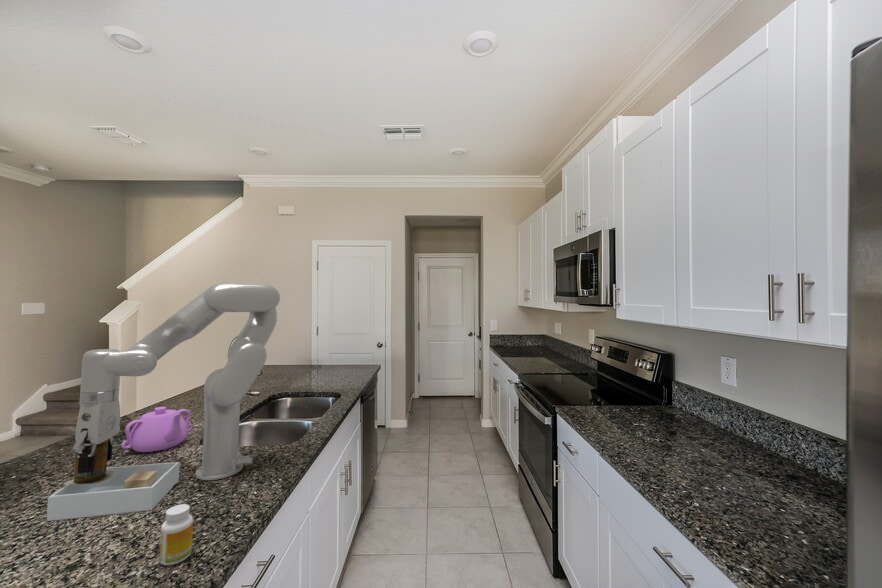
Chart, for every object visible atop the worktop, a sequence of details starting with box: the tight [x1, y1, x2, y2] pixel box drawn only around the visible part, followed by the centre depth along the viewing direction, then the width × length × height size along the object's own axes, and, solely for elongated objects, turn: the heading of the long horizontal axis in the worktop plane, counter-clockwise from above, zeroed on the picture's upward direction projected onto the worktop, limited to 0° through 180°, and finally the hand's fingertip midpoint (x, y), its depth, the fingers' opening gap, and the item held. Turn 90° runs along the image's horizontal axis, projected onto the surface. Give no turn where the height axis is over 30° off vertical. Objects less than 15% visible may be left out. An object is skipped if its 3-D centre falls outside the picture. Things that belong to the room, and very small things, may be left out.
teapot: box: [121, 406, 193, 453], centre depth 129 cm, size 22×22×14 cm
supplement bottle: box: [159, 503, 194, 566], centre depth 74 cm, size 5×5×10 cm
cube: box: [124, 471, 156, 489], centre depth 96 cm, size 5×5×5 cm
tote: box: [46, 461, 181, 522], centre depth 95 cm, size 21×15×6 cm
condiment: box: [63, 440, 121, 485], centre depth 94 cm, size 7×8×12 cm
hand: (95, 465), depth 94 cm, fingers closed on condiment, 6 cm apart
